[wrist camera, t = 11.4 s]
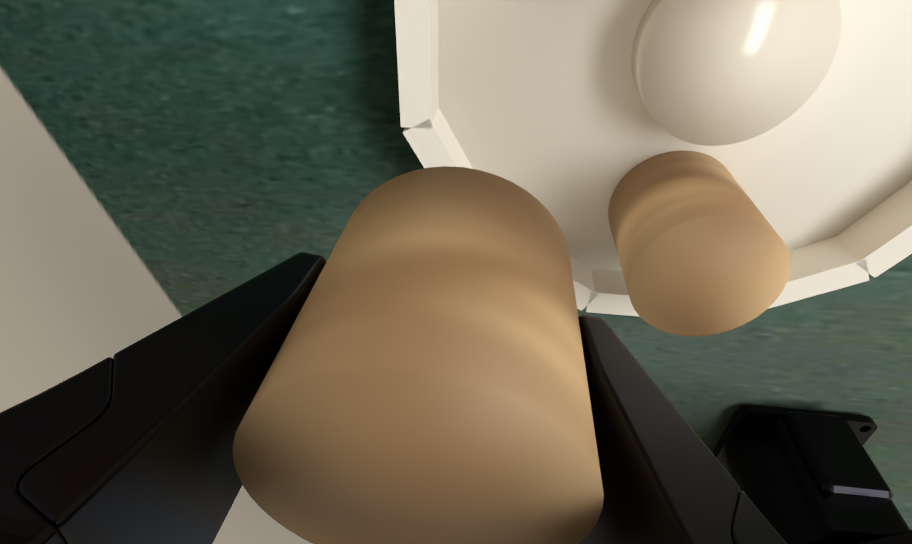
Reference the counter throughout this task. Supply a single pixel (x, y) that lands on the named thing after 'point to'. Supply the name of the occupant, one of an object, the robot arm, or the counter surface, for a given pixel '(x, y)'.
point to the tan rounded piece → (694, 246)
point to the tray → (601, 133)
